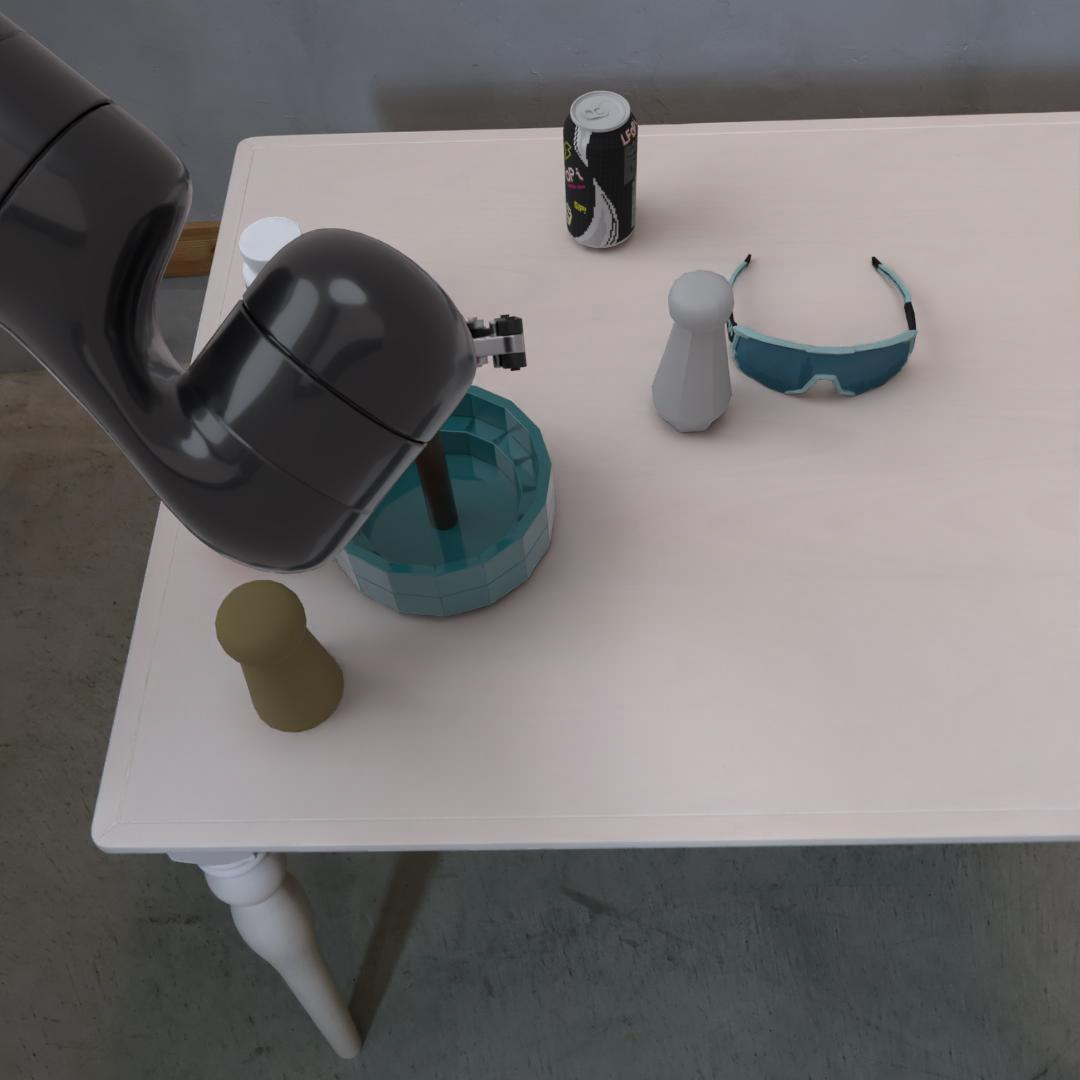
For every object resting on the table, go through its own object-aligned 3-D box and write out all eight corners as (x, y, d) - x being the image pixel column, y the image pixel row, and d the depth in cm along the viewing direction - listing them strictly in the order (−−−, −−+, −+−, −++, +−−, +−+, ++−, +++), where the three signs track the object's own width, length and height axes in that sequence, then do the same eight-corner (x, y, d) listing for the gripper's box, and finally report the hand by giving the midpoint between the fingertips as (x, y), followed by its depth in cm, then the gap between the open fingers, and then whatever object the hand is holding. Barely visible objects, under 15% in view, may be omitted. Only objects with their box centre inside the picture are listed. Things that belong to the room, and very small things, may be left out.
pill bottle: (333, 357, 89) (304, 264, 80) (262, 360, 89) (225, 268, 81) (339, 304, 92) (312, 209, 83) (270, 307, 92) (236, 213, 84)
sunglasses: (724, 400, 84) (730, 349, 80) (721, 277, 94) (726, 225, 90) (917, 406, 83) (932, 354, 79) (894, 280, 93) (907, 228, 89)
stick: (424, 523, 79) (374, 328, 62) (439, 502, 80) (394, 304, 63) (448, 534, 79) (404, 340, 62) (463, 513, 80) (423, 316, 63)
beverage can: (556, 219, 96) (550, 97, 86) (617, 199, 97) (618, 76, 87) (583, 263, 93) (580, 142, 83) (646, 241, 94) (651, 119, 84)
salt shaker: (645, 437, 83) (651, 314, 72) (655, 378, 86) (662, 251, 75) (725, 446, 82) (743, 323, 71) (732, 386, 85) (750, 259, 74)
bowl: (291, 561, 79) (269, 514, 74) (412, 406, 86) (400, 353, 81) (480, 657, 74) (470, 613, 69) (593, 484, 81) (591, 434, 76)
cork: (309, 748, 71) (264, 674, 62) (233, 706, 73) (179, 628, 64) (362, 671, 74) (326, 589, 65) (287, 633, 76) (242, 548, 67)
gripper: (526, 263, 50) (521, 268, 66) (201, 296, 50) (277, 293, 66) (542, 432, 51) (534, 396, 68) (228, 464, 51) (296, 421, 67)
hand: (407, 345), depth 67 cm, fingers open, 7 cm apart
